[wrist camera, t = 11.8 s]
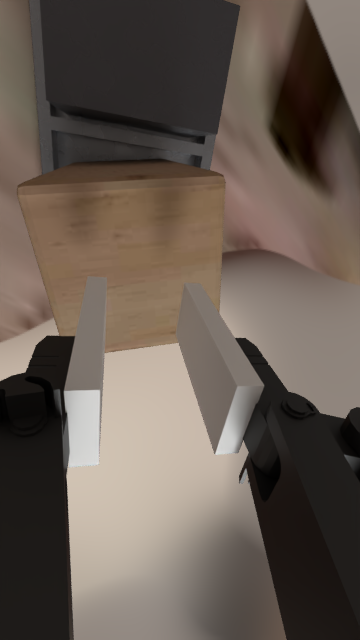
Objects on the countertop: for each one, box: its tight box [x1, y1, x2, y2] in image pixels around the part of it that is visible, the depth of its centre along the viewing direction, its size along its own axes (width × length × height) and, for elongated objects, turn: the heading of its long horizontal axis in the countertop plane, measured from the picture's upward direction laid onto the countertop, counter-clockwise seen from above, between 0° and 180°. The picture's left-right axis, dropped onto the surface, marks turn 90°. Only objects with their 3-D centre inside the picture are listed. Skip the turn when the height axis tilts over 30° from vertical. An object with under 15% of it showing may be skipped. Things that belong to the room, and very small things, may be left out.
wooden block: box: [17, 159, 226, 353], centre depth 24 cm, size 10×10×20 cm
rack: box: [29, 0, 240, 175], centre depth 27 cm, size 17×24×11 cm
